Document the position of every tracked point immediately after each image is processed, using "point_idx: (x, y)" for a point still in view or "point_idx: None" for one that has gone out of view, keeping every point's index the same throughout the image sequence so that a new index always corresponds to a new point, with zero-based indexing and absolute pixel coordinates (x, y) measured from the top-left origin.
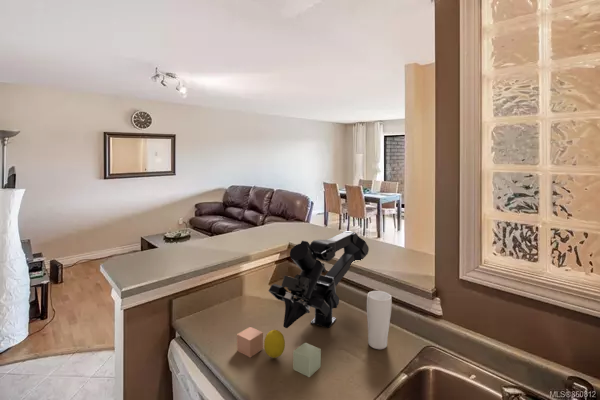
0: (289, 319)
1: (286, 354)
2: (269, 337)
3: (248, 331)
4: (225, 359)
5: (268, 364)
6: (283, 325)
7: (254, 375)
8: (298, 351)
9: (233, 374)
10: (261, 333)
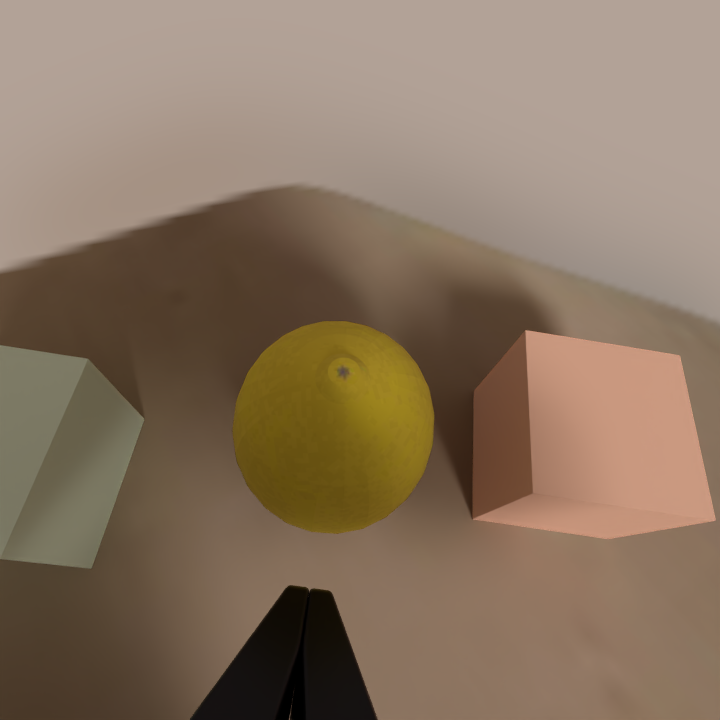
0: (235, 675)
1: (267, 551)
2: (353, 325)
3: (650, 438)
4: (574, 314)
5: None
6: (329, 593)
7: (341, 278)
8: (35, 377)
9: (441, 245)
10: (530, 473)
